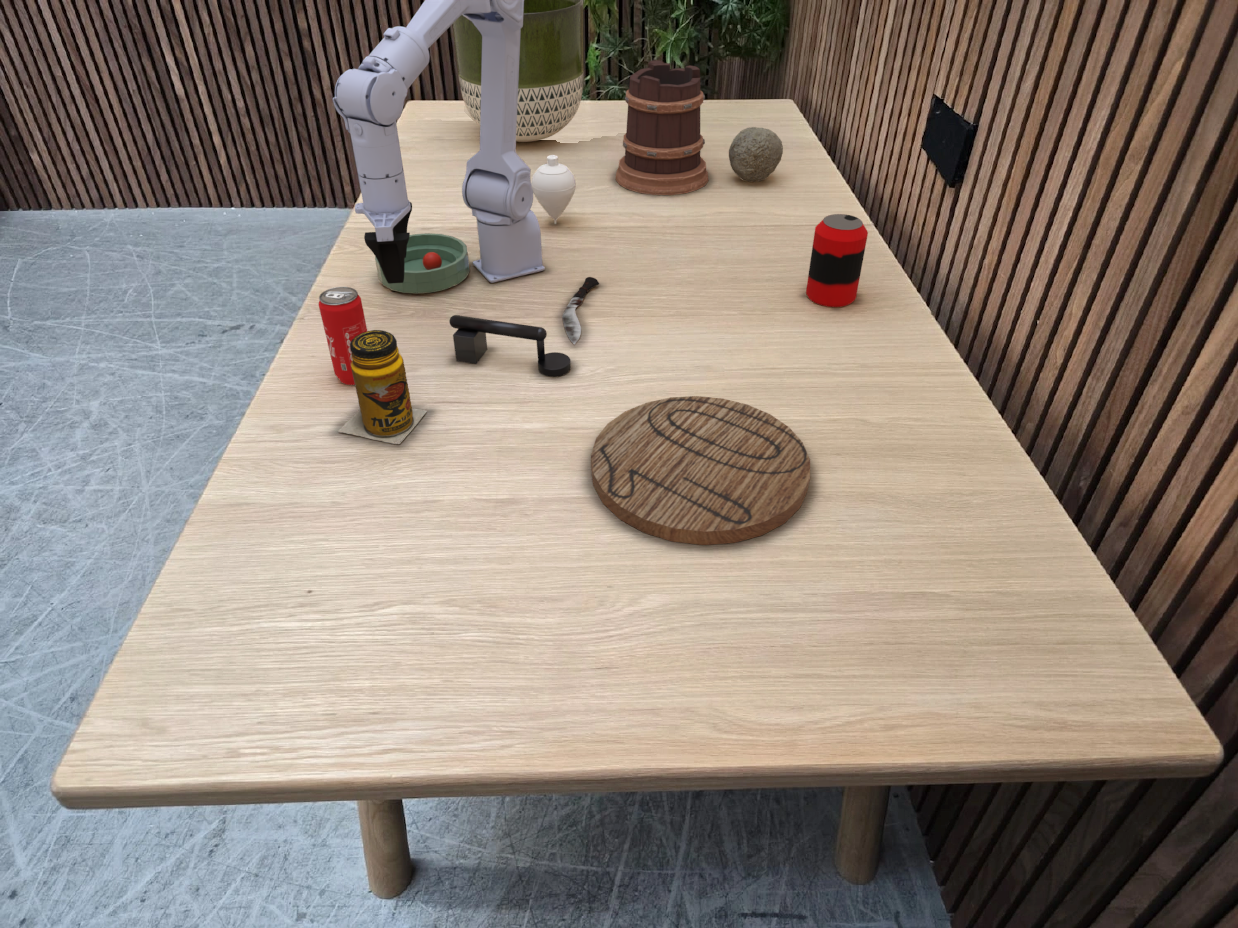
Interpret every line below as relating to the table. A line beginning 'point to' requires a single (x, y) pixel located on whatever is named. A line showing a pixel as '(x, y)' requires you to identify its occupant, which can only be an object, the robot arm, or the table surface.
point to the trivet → (700, 470)
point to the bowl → (434, 279)
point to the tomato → (432, 261)
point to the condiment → (380, 390)
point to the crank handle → (547, 363)
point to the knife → (569, 314)
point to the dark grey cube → (469, 345)
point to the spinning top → (553, 186)
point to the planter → (532, 66)
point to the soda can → (836, 260)
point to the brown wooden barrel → (663, 132)
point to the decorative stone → (755, 153)
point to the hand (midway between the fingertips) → (397, 269)
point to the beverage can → (342, 327)
